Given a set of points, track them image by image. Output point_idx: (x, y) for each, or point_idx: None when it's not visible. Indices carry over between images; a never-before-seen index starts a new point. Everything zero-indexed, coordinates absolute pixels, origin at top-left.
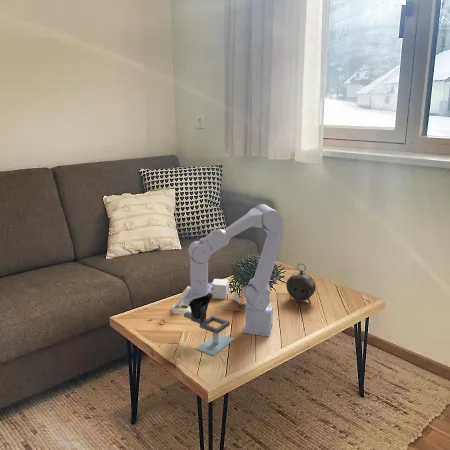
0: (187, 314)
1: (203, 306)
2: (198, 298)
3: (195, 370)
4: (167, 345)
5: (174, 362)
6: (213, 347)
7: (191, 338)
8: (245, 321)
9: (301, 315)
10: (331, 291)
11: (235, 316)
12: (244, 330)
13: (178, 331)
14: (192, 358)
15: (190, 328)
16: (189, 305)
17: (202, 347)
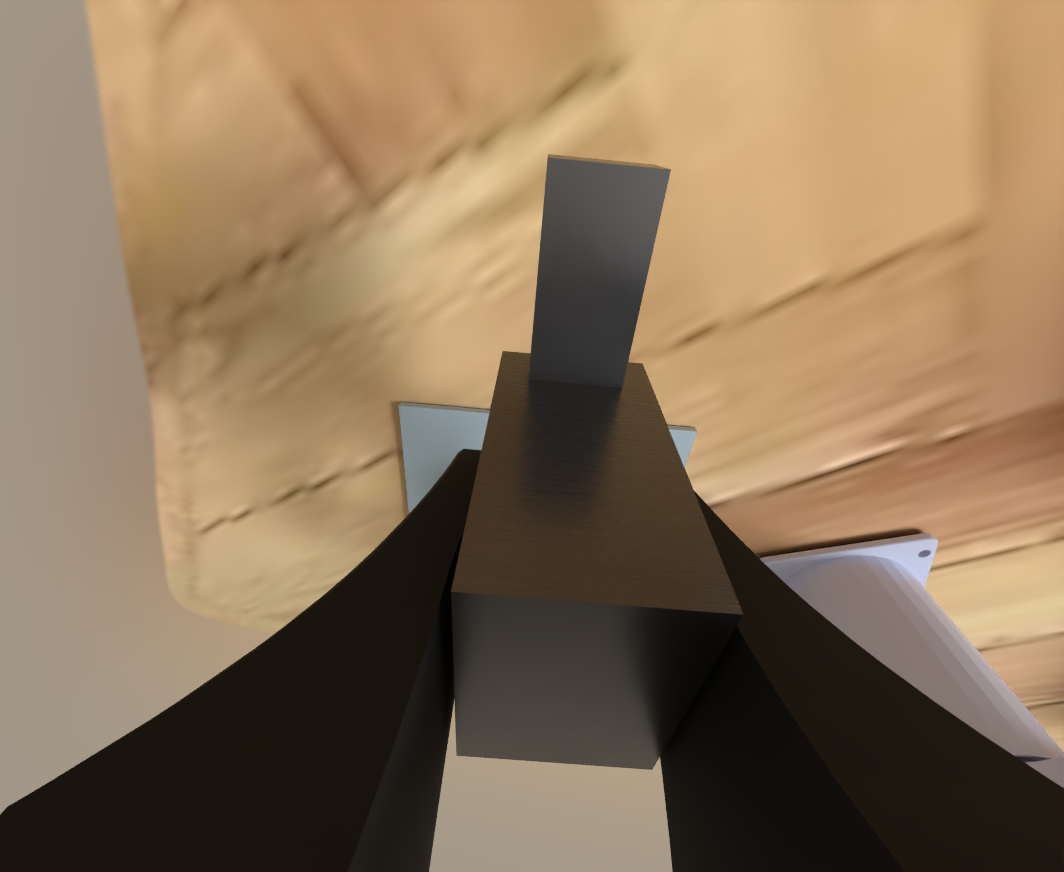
0: (556, 257)
1: (549, 748)
2: (777, 759)
3: (216, 509)
4: (256, 113)
5: (147, 357)
6: None
7: (521, 273)
8: (849, 610)
9: (1054, 703)
10: None
11: (1061, 423)
12: (782, 568)
13: (585, 13)
14: (291, 437)
15: (713, 129)
16: (266, 661)
17: (439, 437)
